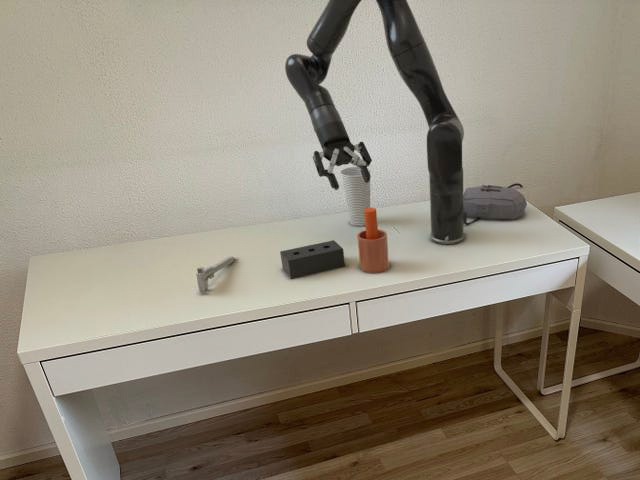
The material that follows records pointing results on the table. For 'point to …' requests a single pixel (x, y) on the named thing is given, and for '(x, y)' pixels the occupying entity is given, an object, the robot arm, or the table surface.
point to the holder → (312, 259)
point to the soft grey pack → (493, 202)
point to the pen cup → (373, 252)
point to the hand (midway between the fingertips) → (352, 185)
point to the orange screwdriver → (371, 223)
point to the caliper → (210, 273)
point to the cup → (356, 194)
